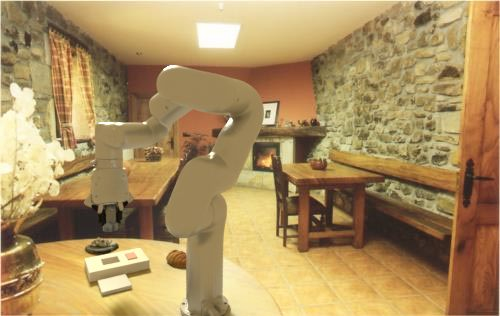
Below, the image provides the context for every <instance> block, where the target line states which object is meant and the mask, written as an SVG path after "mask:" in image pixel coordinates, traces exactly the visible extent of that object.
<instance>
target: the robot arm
mask: <svg viewBox="0 0 500 316" xmlns="http://www.w3.org/2000/svg"><path fill="white" fill-rule="evenodd" d="M156 91H157V93H156V94H154V95H153V96H152V97H151V98H150V99H149V101H148V108H149V111H150V114H151V115H152V116H151V117H149V118H148V119H147V120H145V121H143V122H109V121H108V122H105V121H103V122H102V121H101V122H97V123H96V124H95V126H94V154H95V155H94V159H92V160H90V161H89V166H93V167H95V168H93V170H92V175H91V178H90V179H91V181H90V193H89V194H88V195H87V197H86V198H85V200H84V201H83V204H84V205H85V206H86V207H89V208H92V209H93V210H94V211H96V212H97V223H98V224H100V227H103V226H104V213H103V204H105V203H117V225H120V224H121V221H122V220H123V210H124V209H125V208H126V206H128V204H130V203H131V202H133V201H134V200H135V197H134V196H133V195H132V193H131V192H130V190H129V189H130V187H129V186H130V185H129V179H128V177H129V176H128V172H127V168H126V167H124V150H133V149H144V148H145V149H146V148H149V147H151V146H153V145H155V144H156V143H158V142H160V141H161V140H162V139H164V138H165V137H166V136H168V135H169V133H170V131H172V128H173V125H174V123H175V122H177V121H178V120H179V119H181V118H182V117H184V116H185V115H188V113H190V112H192V110H195V111H198V112H202V113H205V114H210V115H217V116H218V115H219V116H220V115H221V116H229V119H228V120H227V123H226V124H224V126H223V127H222V129H221V131H220V132H219V134H218V136H217V138H216V141H215V143H214V145H213V147H212V150H211V151H210V152H209V153H208V154H207V155H199V156H196V157H194V158H192V159H190V160H189V161H188V162H187V163H186V164H185V165H184V166H183V168H182V169H181V171H180V173H179V175H178V177H177V180H176V183H175V185H174V188H173V190H172V192H171V195H170V197H169V200H168V202H167V204H166V207H165V211H164V222H165V226H166V229H167V230H168V233H170V234H171V235H172V236H173V237H175V238H177V239H186V246H185V247H186V251H185V253H186V267H185V274H186V275H185V278H186V279H185V280H186V281H185V285H186V286H185V287H186V288H185V291H186V292H185V297H184V298H183V299H182V301H181V302H180V307H179V310H180V313H181V315H182V316H224V315H226V313H227V311H228V310H229V300H228V298H227V297H226V296H225V295H224V293H223V292H224V289H223V288H224V287H223V285H224V282H223V281H224V280H223V279H224V238H225V237H224V236H225V228H226V222H227V215H228V206H227V202H226V199H225V197H224V196H223V195H222V194H223V193H224V192H227V191H229V190H231V189H233V187H234V186H235V185H236V184H237V182H238V179H239V177H240V175H241V173H242V170H243V169H244V167H245V164H246V162H247V160H248V158H249V155H250V153H251V151H252V149H253V147H254V143H255V142H256V140H257V138H258V136H259V134H260V131H261V129H262V127H263V122H264V118H265V108H264V103H263V100H262V97H261V96H260V94H259V93H258V91H257V90H256V89H255V88H254V87H253V86H252V85H250V84H249V83H248V82H245V81H243V80H240V79H238V78H237V79H236V78H232V77H229V76H225V75H224V74H223V75H222V74H218V73H214V72H209V71H204V70H198V69H194V68H190V67H186V66H183V65H178V64H174V65H173V64H172V65H169V66H167V67H165V68H163V70H161V72H160V73H159V74H158V76H157V79H156Z"/></svg>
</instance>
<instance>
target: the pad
mask: <svg viewBox="0 0 500 316" xmlns="http://www.w3.org/2000/svg"><path fill="white" fill-rule="evenodd" d="M97 286H98V289H99V292H100V295H101V296H102V297H103V296H107V295H110V294H115V293H118V292H122V291H126V290H131V289H132V288H133V287H132V283H131V282H130V279H129V277H128V276H127V274H123V275H119V276H115V277H110V278H106V279H102V280H98V281H97Z"/></svg>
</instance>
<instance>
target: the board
mask: <svg viewBox="0 0 500 316" xmlns="http://www.w3.org/2000/svg"><path fill="white" fill-rule="evenodd" d="M84 269H85V271H86V276H87V279H88V282H89V283H92V282H98V280H102V279H106V278H110V277H115V276H119V275H123V274H126V275H128V274H132V273H133V274H134V273H137V272H140V271H141V272H142V271H145V270H149V269H150V259H149V257H148V256H147V255H146V253H145V252H144V251H143V250H142V248H141V247H137V248H132V249H127V250H121V251H117V252H115V251H114V252H110V253H106V254H99V255H96V256H89V257H85V258H84Z"/></svg>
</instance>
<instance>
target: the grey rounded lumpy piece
mask: <svg viewBox="0 0 500 316" xmlns="http://www.w3.org/2000/svg"><path fill="white" fill-rule="evenodd" d="M118 249H120V247H119V244H118V243H116V241H114V240H112V239H110V240H109V239H104V238H101V237H97V238H96V239H94V240H92V241H91V243H90V244H89V245H86V246H85V247H84V250H85V252H87V253H90V254H93V255H105V254H110V253H114V252H115V251H117V250H118Z"/></svg>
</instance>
